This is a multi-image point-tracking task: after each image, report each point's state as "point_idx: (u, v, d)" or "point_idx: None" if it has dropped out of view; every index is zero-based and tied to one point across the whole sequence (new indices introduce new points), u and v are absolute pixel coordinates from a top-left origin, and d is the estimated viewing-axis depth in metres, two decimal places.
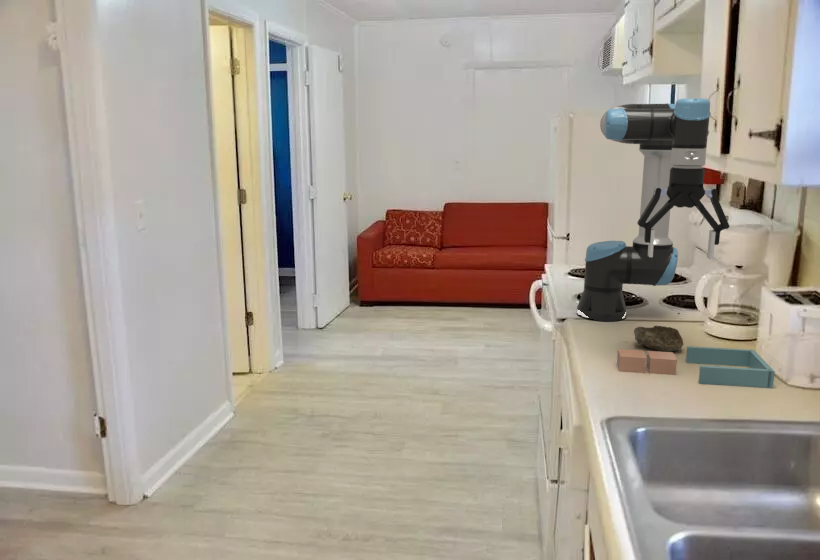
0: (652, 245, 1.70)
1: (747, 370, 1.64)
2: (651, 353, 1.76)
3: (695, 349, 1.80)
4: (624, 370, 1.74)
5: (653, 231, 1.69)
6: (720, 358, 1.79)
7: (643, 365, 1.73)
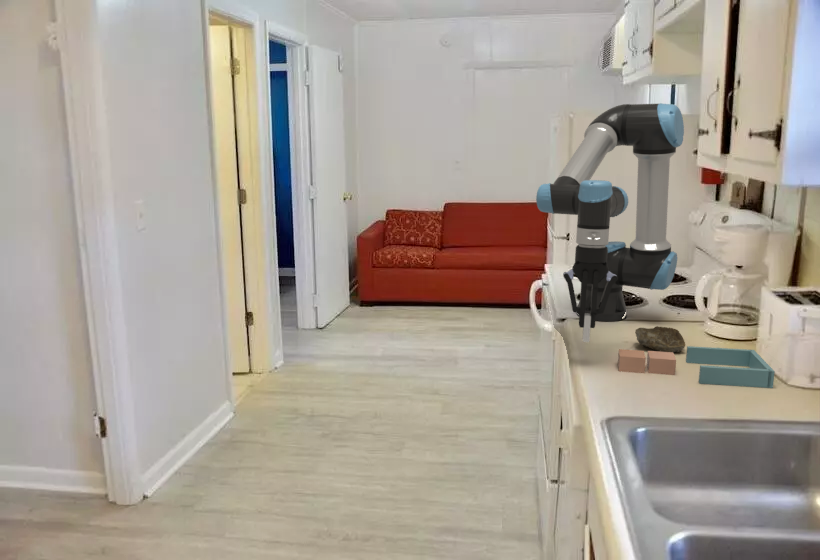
0: (585, 330, 1.75)
1: (747, 370, 1.64)
2: (652, 353, 1.76)
3: (695, 349, 1.80)
4: (623, 370, 1.74)
5: (586, 317, 1.74)
6: (720, 358, 1.79)
7: (642, 366, 1.73)
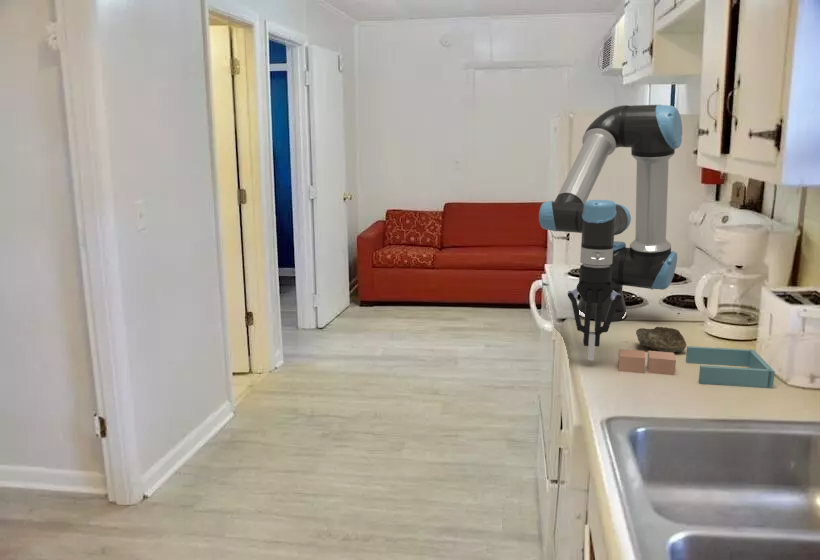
0: (590, 349, 1.76)
1: (747, 370, 1.64)
2: (652, 352, 1.76)
3: (695, 349, 1.80)
4: (623, 370, 1.74)
5: (591, 335, 1.75)
6: (720, 358, 1.79)
7: (642, 366, 1.73)
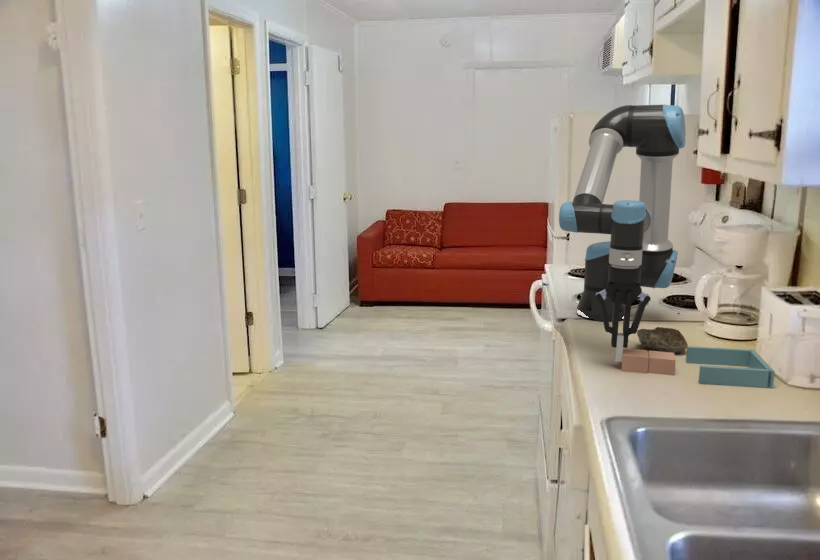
0: (618, 350, 1.75)
1: (747, 370, 1.64)
2: (652, 352, 1.76)
3: (695, 349, 1.80)
4: (626, 369, 1.74)
5: (619, 337, 1.74)
6: (720, 358, 1.79)
7: (645, 365, 1.73)
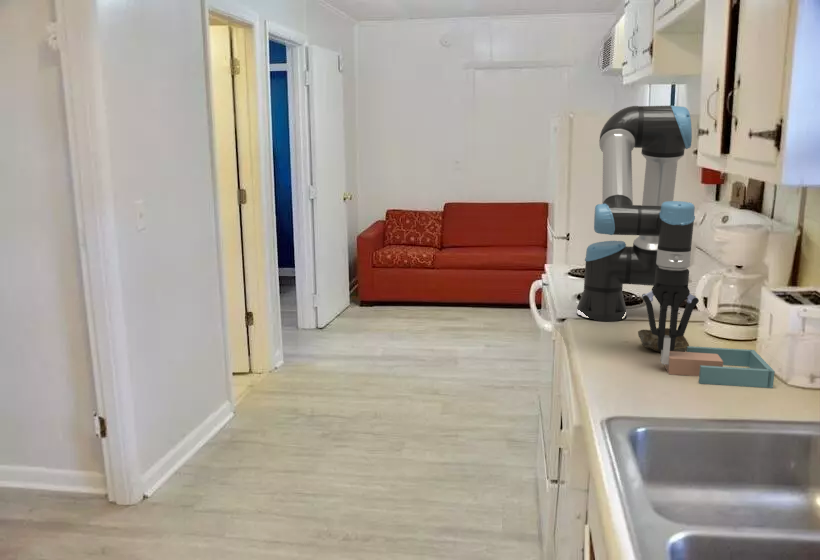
0: (665, 353, 1.73)
1: (747, 370, 1.64)
2: (696, 354, 1.75)
3: (695, 349, 1.80)
4: (674, 372, 1.72)
5: (666, 339, 1.72)
6: None
7: (693, 367, 1.71)
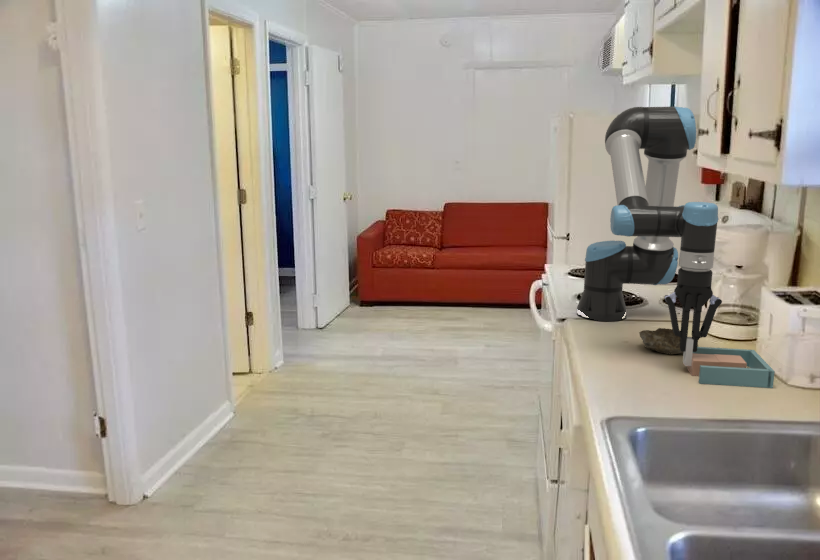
0: (688, 354, 1.72)
1: (747, 370, 1.64)
2: (719, 356, 1.74)
3: None
4: (697, 374, 1.71)
5: (689, 341, 1.71)
6: None
7: None
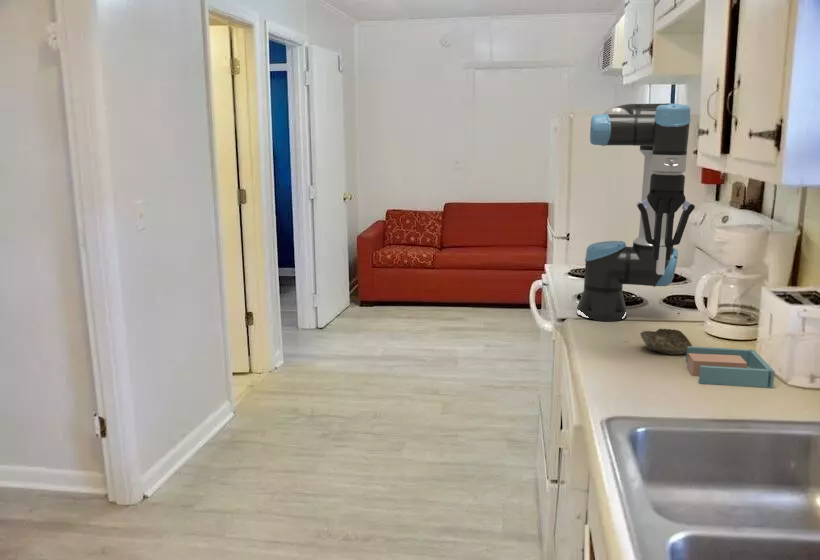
0: (660, 262, 1.69)
1: (747, 370, 1.64)
2: (719, 356, 1.74)
3: (695, 349, 1.80)
4: (697, 375, 1.71)
5: (661, 248, 1.68)
6: None
7: None
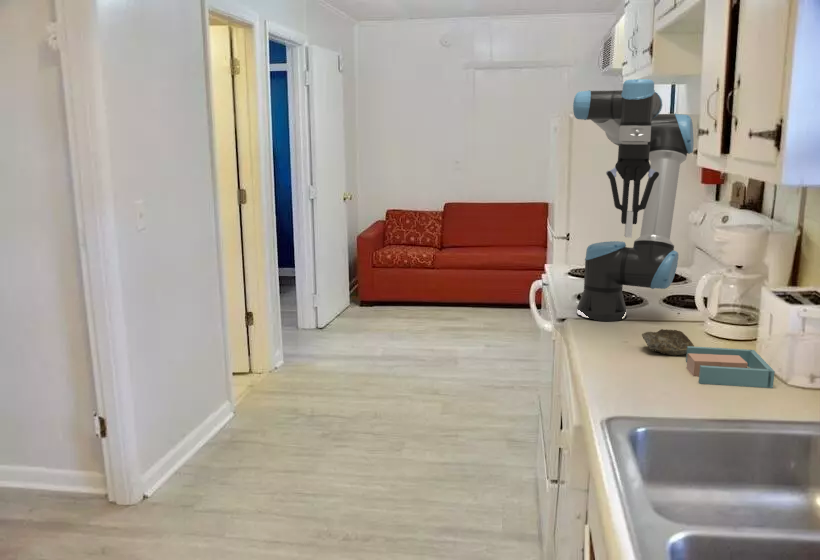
0: (628, 226, 1.83)
1: (747, 370, 1.64)
2: (719, 356, 1.74)
3: (695, 349, 1.80)
4: (698, 375, 1.71)
5: (629, 213, 1.82)
6: None
7: None
